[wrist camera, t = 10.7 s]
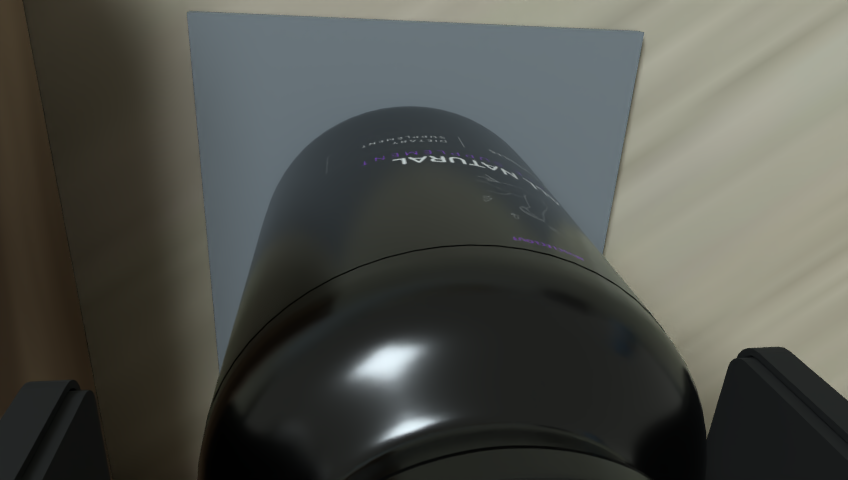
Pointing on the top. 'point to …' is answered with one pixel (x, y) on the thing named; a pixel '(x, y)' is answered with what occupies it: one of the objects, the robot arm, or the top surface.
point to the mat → (395, 87)
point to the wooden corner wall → (33, 235)
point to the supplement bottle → (440, 326)
